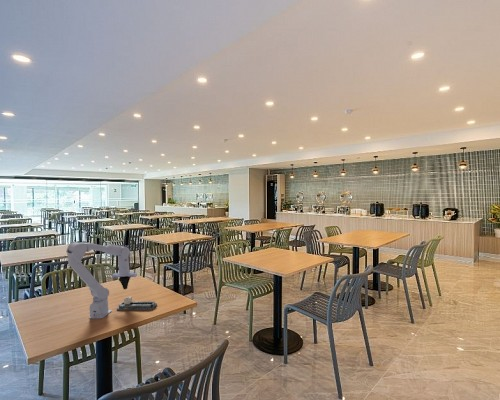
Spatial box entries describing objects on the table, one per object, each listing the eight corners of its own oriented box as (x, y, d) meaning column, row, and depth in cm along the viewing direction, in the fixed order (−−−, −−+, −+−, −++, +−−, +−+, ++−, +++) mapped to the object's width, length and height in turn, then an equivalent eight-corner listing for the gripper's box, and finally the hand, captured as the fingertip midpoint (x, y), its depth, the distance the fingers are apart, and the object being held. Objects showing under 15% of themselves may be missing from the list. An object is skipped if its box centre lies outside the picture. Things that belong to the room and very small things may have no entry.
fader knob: (128, 306, 163) (128, 299, 163) (124, 306, 164) (123, 299, 163) (132, 304, 167) (131, 296, 167) (127, 304, 167) (127, 296, 167)
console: (151, 310, 160) (151, 306, 160) (116, 310, 162) (116, 306, 162) (157, 305, 168) (157, 300, 168) (123, 305, 170) (123, 300, 170)
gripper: (138, 264, 172) (140, 286, 173) (116, 264, 174) (117, 286, 174) (132, 267, 165) (134, 290, 166) (109, 268, 167) (111, 290, 167)
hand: (125, 288), depth 169 cm, fingers closed
